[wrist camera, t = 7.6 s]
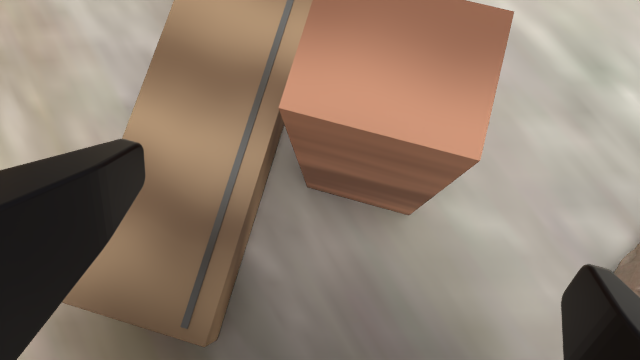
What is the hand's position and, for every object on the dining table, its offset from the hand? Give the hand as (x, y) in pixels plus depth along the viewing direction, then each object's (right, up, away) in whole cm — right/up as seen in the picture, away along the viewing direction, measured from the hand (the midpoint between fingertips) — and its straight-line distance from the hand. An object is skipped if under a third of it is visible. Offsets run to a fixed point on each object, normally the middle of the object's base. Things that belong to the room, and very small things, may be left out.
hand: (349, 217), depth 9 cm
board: (-5, +5, +14) cm, 16 cm away
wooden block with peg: (+2, +4, +13) cm, 14 cm away
